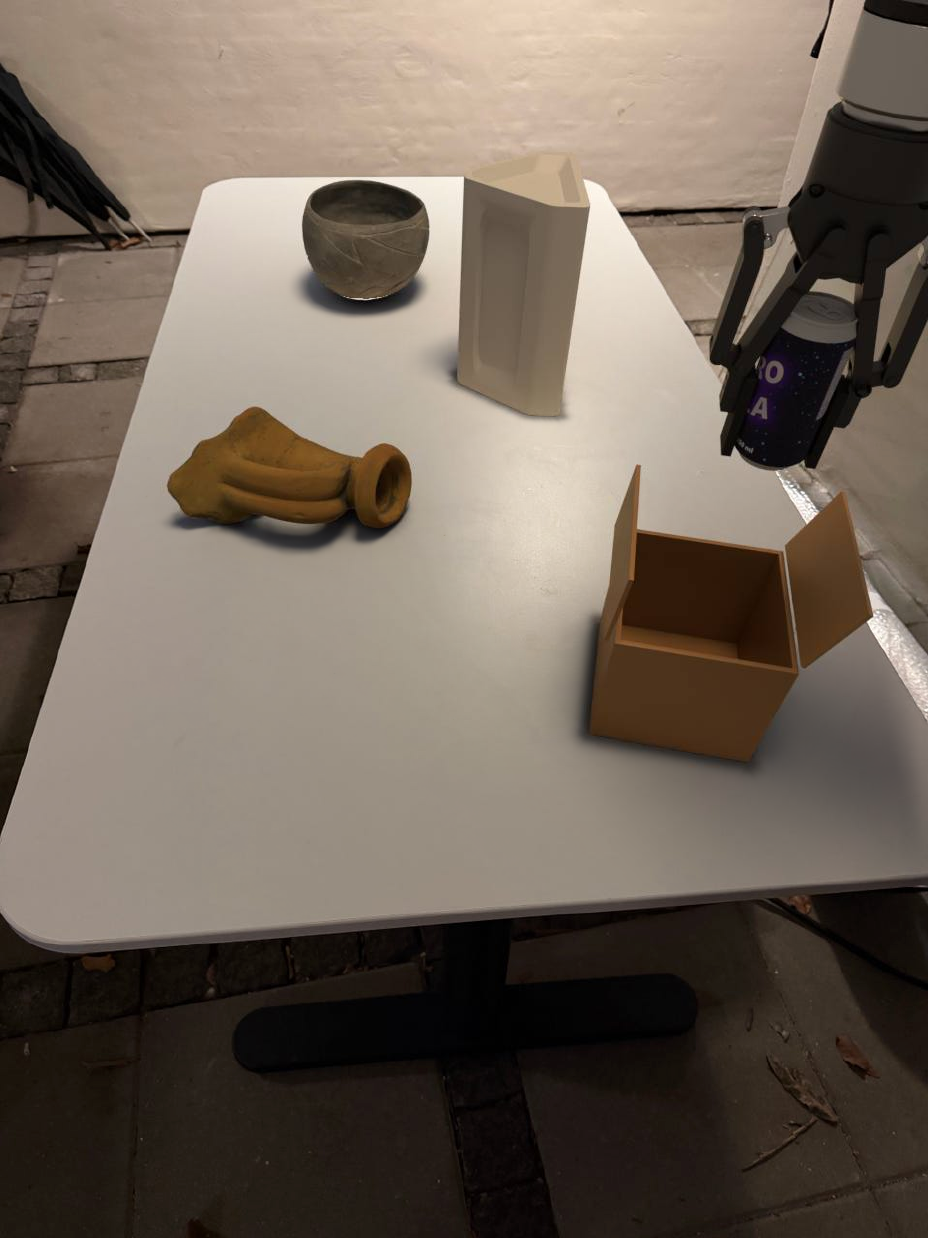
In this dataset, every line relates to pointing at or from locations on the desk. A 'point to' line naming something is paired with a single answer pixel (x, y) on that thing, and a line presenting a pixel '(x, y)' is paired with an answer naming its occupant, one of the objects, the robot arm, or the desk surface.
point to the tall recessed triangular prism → (520, 277)
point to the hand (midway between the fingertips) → (766, 451)
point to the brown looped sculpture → (288, 477)
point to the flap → (826, 581)
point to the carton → (691, 641)
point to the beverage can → (797, 381)
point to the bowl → (365, 237)
